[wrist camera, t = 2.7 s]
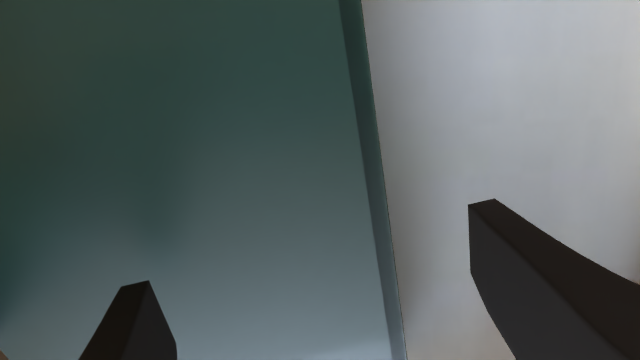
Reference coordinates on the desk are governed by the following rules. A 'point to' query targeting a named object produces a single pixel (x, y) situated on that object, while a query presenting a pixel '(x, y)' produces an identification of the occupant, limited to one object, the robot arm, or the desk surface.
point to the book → (194, 178)
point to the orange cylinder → (3, 356)
